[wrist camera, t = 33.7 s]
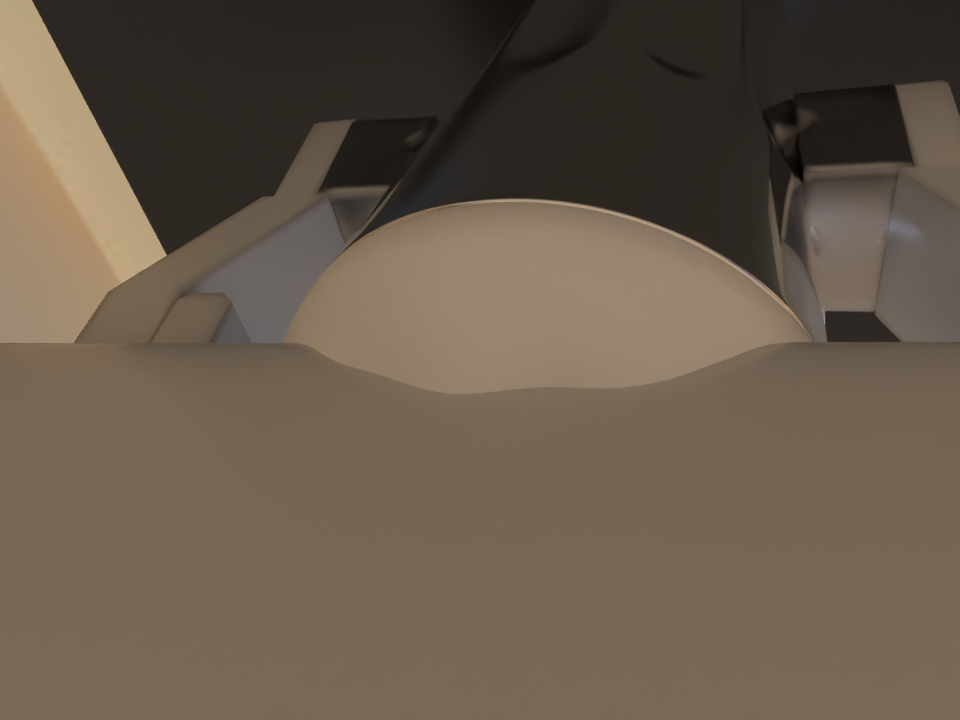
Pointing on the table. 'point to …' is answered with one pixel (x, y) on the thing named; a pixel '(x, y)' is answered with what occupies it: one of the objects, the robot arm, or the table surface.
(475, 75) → the laptop screen
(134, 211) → the table surface
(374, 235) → the milkshake
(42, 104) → the table surface
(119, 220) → the table surface
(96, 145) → the table surface
